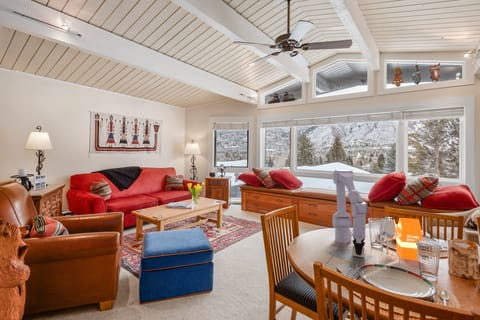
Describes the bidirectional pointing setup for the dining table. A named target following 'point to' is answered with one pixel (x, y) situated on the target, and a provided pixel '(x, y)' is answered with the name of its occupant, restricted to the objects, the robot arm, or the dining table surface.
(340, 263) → the dining table surface
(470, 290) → the dining table surface
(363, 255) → the white piece
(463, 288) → the dining table surface
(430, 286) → the dining table surface
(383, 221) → the wineglass
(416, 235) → the orange juice
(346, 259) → the shaft base
